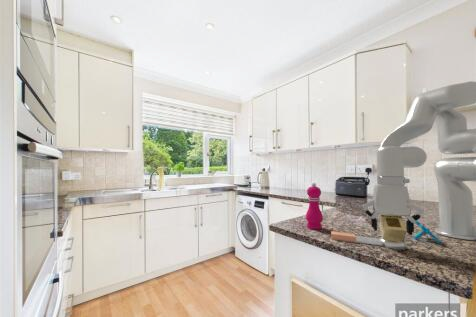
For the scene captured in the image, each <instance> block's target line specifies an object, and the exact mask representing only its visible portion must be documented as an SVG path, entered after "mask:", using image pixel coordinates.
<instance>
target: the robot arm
mask: <svg viewBox="0 0 476 317" xmlns="http://www.w3.org/2000/svg"><path fill="white" fill-rule="evenodd" d="M475 104H476V81H467V82H461V83H455V84H449V85H445V86H442V87H438V88H435V89H432V90H428V91H425V92H421V93H420V94H418V95H417V96H416V97H414V99H413V100H412V102H411V104H410V107H409V110H408V111H407V114H406V117H405V118H404V121H403V123H402V124H401V125H399V126H398V127H396V128H395V129H394V130H393V131H391V132H390V133H389V134H388V135H387V136H386V137H385V138H383V141H382V142H381V144H380V147H378V148H377V150H376V177H377V178H376V181H377V183H376V184H374V188H373V194H372V201H369V202H366V203H364V204H362V205H361V207H362V209H363V210H364V212H365V214H366V215H367V216H369V218H370V220H371V221H370V227H371V228H372V229H373V230H374V231H375V232H377V231H378V219H377V217H378V216H379V215H391V216H402V217H405V219H406V221H405V225H406V226H405V227H406V230H407V232H406V234H408V235H409V236H413V233H414V232H415V224H416V223H415V221H418V220H419V219H421V217H422V215H423V214H424V213H425V210H424V209H423V208H420V207H419V206H417V205H414V204H412V203H411V198H410V193H409V189H408V187H407V186H406V184H411V183H410V182H411V181H410V178H406V177H405V169H408V168H412V169H413V168H414V169H415V168H418V167H421V166H423V165H424V164H425V163H426V161H427V158H428V157H427V153H426V151H425V150H424V149H423V148H421V147H419V146H412V145H411V146H404V147H403V146H402V145H404V144H405V143H408V142H409V141H412V140H413V139H414V140H415V139H417V138H419V137H420V136H421V137H422V136H423V135H425V134H426V133H429V132H430V131H431V130H432V128H433V126H434V122H435V123H436V129H437V146H438V150H439V152H440V153H441V154H444V155H464V154H465V155H467V154H476V128H469V129H468V124H467V118H466V116H465V115H464V114H463V113H462V112H460V111H459V110H457V109H456V108H463V107H466V106H471V105H475ZM433 172H434V174H435V178H436V183H437V192H438V193H437V194H438V214H439V215H438V216H439V227H436V228H434V232H435V233H436V234H439V235H442V236H444V237H450V238H453V239H460V240H464V241H465V240H466V241H476V225H475V222H474V200H473V192H472V190H471V189H470V187H469V186H468V185H467V184H465V182H475V183H476V156H466V157H465V156H462V157H461V156H459V157H457V156H456V157H445V158H440V159H439V160H436V162H434V165H433ZM369 207H370V208H371V207H372V209H373V211H372V212H371V211H370V210H369ZM412 209H413V210H414V211H415V214H413V215H412ZM411 215H412V216H411Z"/></svg>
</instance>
